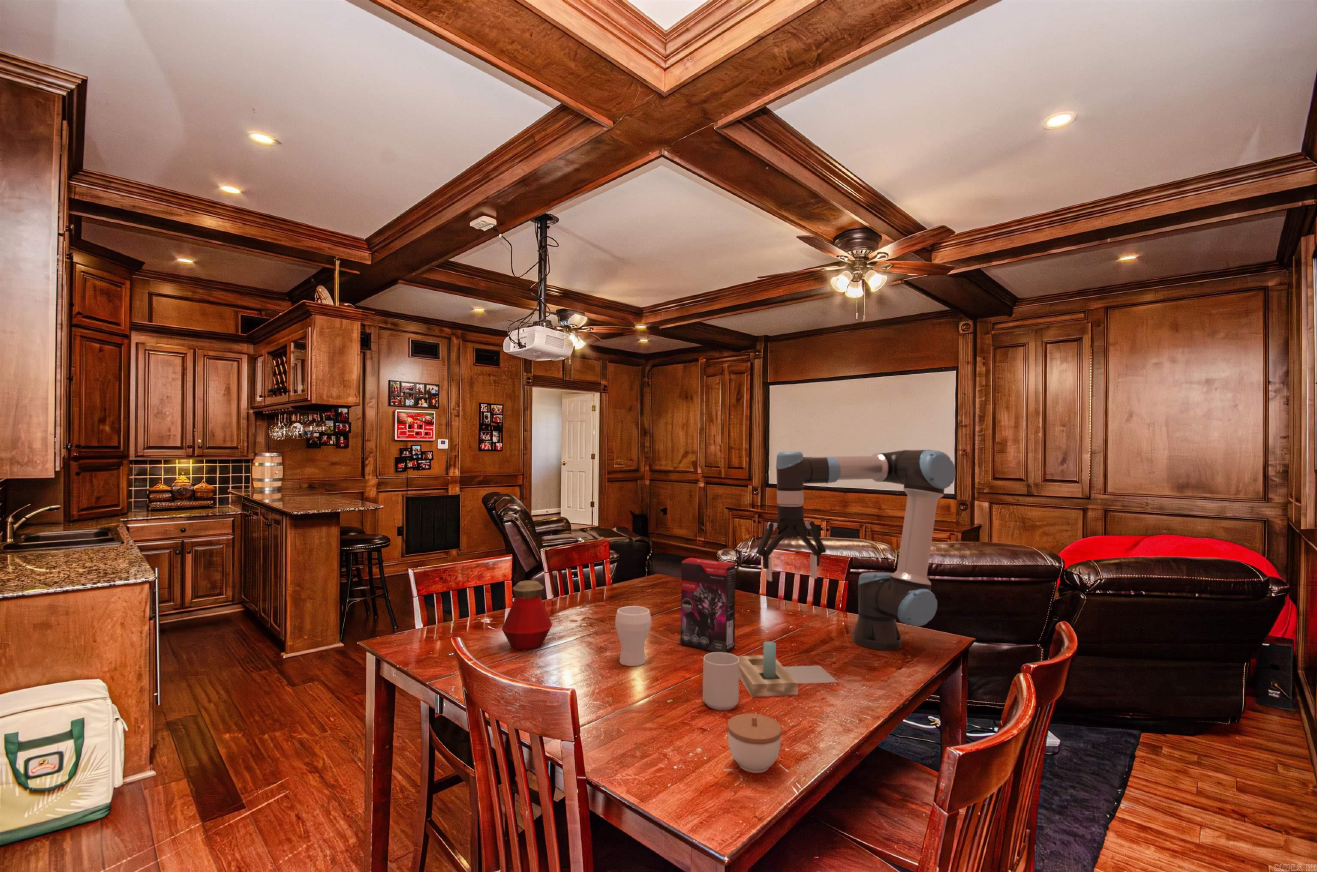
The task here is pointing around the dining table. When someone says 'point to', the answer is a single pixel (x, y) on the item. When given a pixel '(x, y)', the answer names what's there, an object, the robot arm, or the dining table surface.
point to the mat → (810, 674)
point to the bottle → (527, 617)
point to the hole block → (758, 686)
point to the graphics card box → (708, 605)
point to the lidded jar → (754, 741)
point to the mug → (721, 680)
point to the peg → (769, 660)
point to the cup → (632, 633)
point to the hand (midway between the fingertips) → (791, 578)
